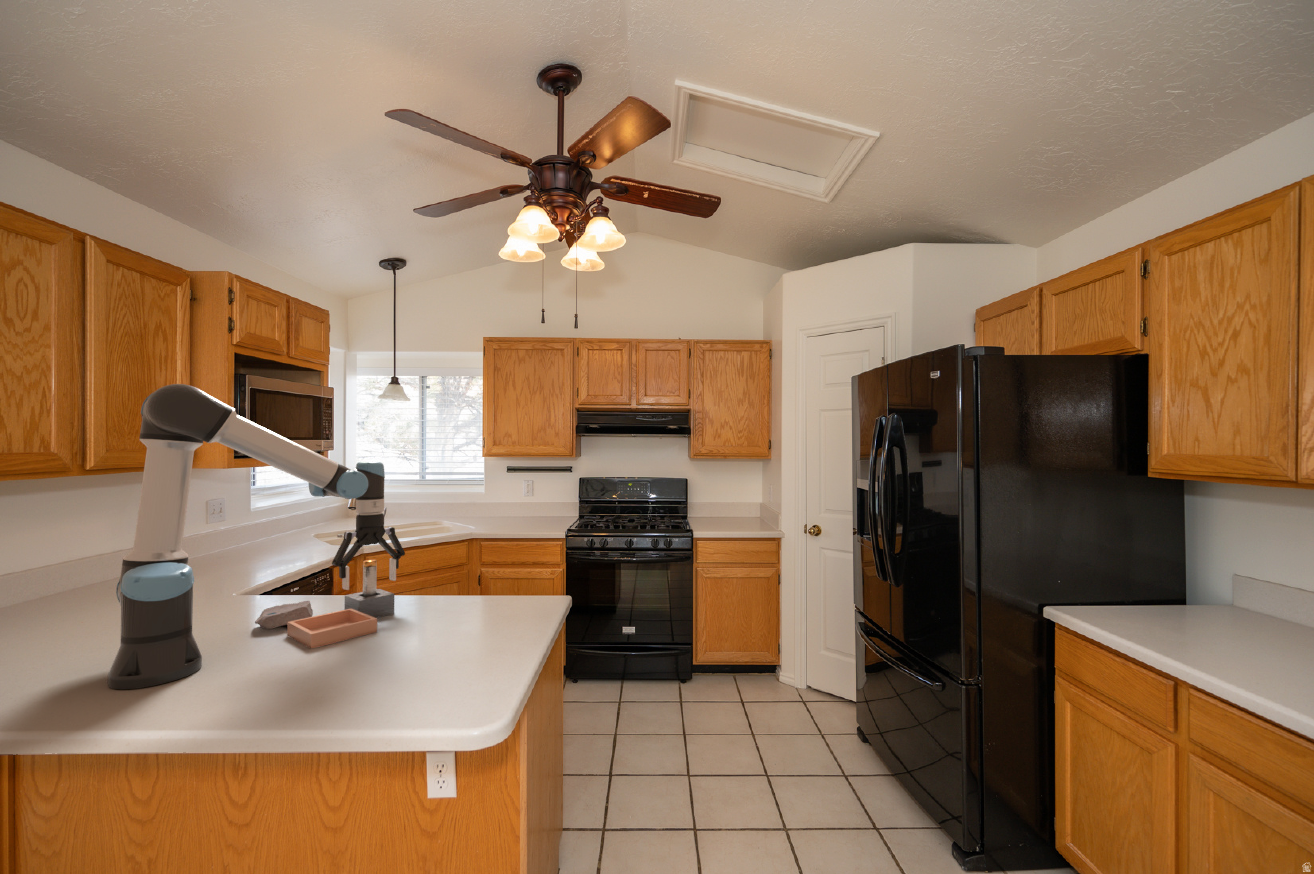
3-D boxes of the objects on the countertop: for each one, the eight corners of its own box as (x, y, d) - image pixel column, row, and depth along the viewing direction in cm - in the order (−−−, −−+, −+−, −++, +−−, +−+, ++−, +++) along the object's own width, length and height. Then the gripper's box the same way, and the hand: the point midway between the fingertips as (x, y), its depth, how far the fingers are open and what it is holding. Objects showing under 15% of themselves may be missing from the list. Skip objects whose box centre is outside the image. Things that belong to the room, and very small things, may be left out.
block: (359, 621, 157) (359, 600, 157) (344, 615, 163) (344, 595, 163) (394, 613, 164) (394, 593, 165) (378, 607, 171) (378, 588, 171)
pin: (365, 617, 161) (366, 562, 161) (360, 615, 163) (360, 561, 164) (378, 614, 164) (378, 560, 164) (372, 612, 166) (373, 559, 167)
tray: (310, 648, 135) (311, 634, 135) (287, 635, 145) (287, 621, 145) (377, 631, 148) (377, 618, 148) (351, 620, 158) (351, 608, 158)
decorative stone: (254, 635, 146) (254, 613, 146) (255, 626, 153) (256, 605, 154) (313, 627, 153) (313, 605, 153) (311, 618, 161) (312, 598, 161)
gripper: (330, 518, 152) (329, 595, 152) (416, 510, 172) (416, 578, 171) (319, 516, 157) (318, 591, 156) (404, 508, 176) (404, 575, 176)
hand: (369, 584), depth 164 cm, fingers open, 13 cm apart
